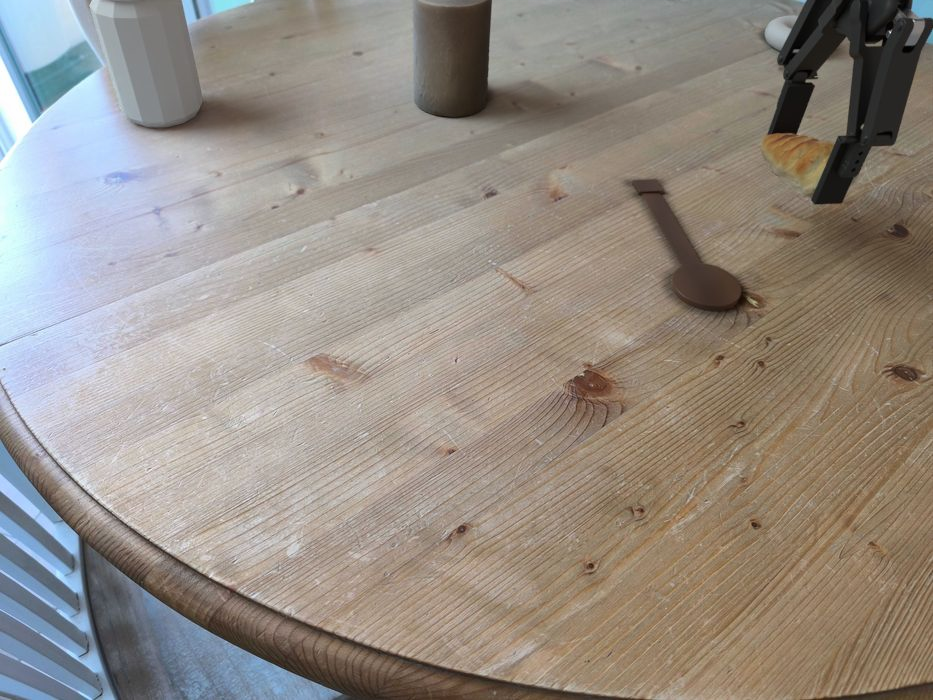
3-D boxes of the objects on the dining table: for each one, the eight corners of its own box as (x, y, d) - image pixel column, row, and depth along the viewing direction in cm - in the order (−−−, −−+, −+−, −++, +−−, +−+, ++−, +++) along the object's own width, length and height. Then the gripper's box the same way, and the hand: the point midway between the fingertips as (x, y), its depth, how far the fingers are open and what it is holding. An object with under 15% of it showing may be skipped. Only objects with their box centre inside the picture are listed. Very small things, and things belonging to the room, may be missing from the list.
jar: (123, 135, 89) (73, -27, 76) (122, 99, 95) (76, -56, 83) (208, 125, 91) (174, -33, 79) (201, 90, 98) (169, -61, 85)
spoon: (669, 189, 85) (672, 176, 84) (747, 316, 70) (752, 303, 68) (614, 191, 84) (617, 179, 83) (682, 321, 69) (686, 308, 68)
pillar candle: (499, 110, 97) (508, -12, 87) (431, 123, 94) (431, -2, 83) (466, 79, 103) (471, -38, 93) (401, 91, 100) (398, -29, 90)
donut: (773, 29, 121) (752, 47, 115) (780, 7, 119) (759, 24, 113) (835, 45, 118) (817, 65, 111) (844, 23, 115) (826, 41, 109)
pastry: (739, 157, 75) (751, 122, 72) (787, 144, 77) (801, 109, 75) (811, 205, 69) (827, 168, 66) (860, 189, 72) (878, 153, 69)
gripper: (792, -123, 65) (720, 118, 80) (946, -38, 49) (819, 241, 64) (872, -122, 66) (786, 116, 81) (1048, -38, 50) (898, 237, 65)
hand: (800, 172), depth 73 cm, fingers closed on pastry, 10 cm apart
